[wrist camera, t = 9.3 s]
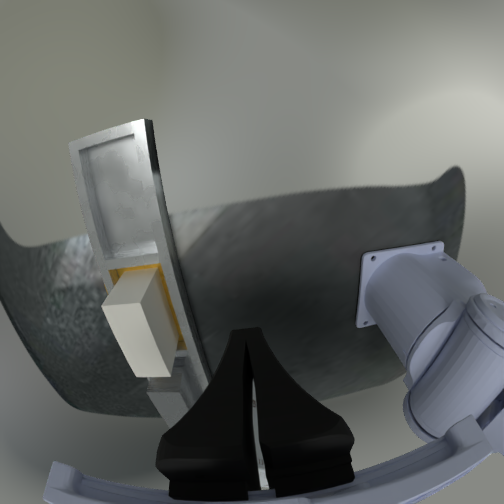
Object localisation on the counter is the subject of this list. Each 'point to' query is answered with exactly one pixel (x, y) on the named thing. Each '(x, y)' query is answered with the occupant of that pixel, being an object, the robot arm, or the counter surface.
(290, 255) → the counter surface
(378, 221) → the counter surface
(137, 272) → the tall white prism
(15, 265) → the counter surface
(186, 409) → the tray
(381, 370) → the counter surface
